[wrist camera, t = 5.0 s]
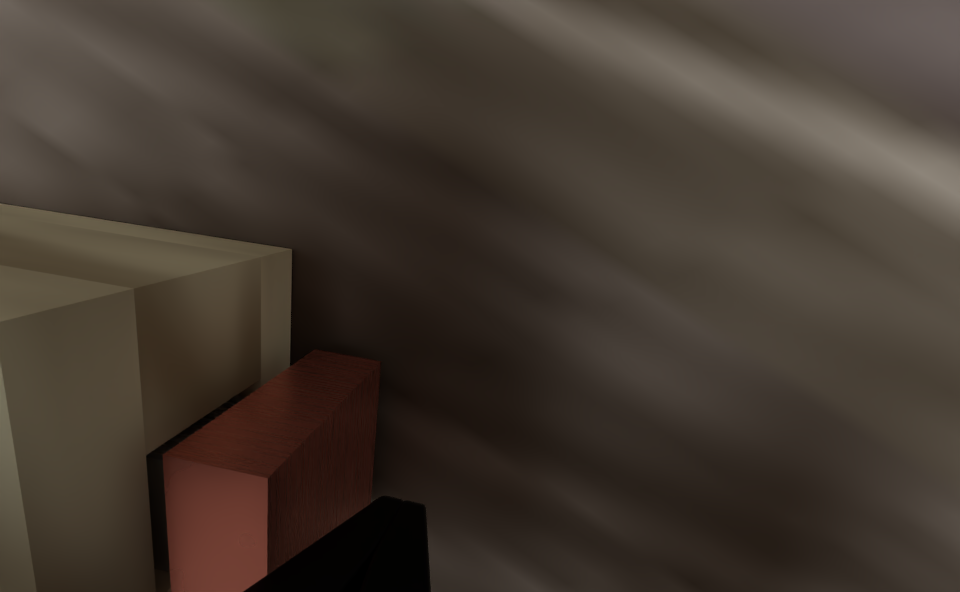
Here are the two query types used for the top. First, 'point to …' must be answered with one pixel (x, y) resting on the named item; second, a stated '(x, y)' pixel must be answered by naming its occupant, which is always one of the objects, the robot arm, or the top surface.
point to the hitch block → (115, 381)
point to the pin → (264, 474)
